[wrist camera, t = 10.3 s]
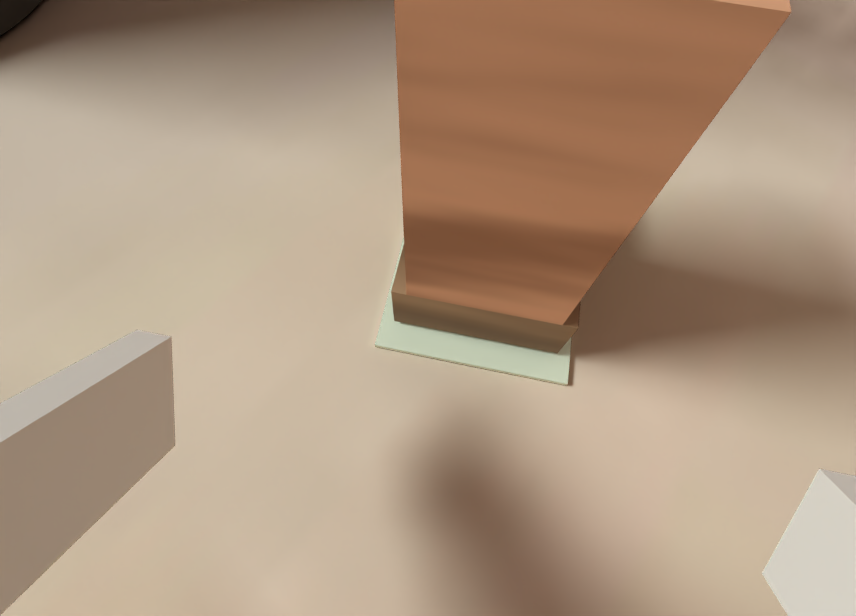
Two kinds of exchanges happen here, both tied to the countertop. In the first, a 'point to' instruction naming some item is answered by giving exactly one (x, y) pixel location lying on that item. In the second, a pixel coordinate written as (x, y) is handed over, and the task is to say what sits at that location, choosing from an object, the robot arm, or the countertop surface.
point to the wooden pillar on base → (547, 144)
